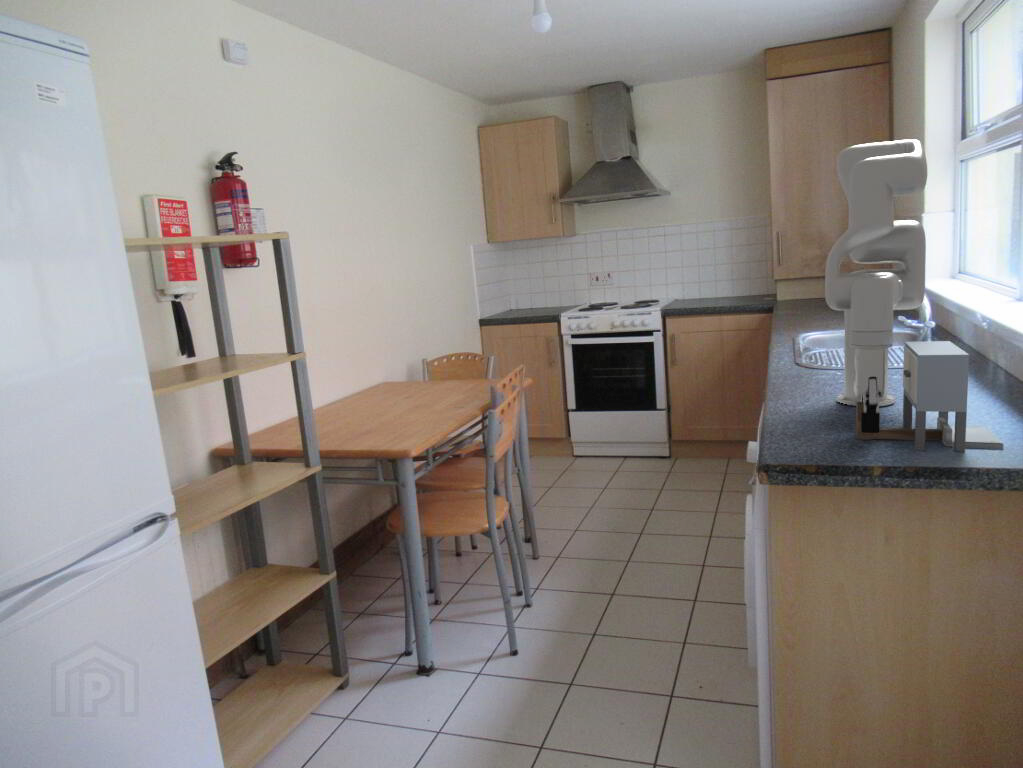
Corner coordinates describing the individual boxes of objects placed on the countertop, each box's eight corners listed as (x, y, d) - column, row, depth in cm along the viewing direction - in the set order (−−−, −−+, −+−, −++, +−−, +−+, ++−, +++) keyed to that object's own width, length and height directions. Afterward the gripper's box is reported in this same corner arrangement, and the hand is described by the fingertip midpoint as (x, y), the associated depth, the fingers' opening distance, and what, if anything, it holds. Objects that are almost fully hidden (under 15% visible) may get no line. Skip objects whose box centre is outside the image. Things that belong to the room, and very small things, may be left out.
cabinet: (897, 427, 156) (899, 341, 153) (946, 428, 153) (949, 341, 150) (909, 450, 140) (912, 355, 137) (964, 451, 137) (969, 354, 134)
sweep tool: (854, 431, 156) (855, 398, 154) (942, 433, 150) (943, 398, 149) (858, 443, 146) (858, 408, 145) (951, 446, 141) (953, 409, 139)
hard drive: (1003, 442, 137) (988, 426, 148) (952, 441, 140) (941, 425, 151) (1003, 451, 137) (987, 434, 149) (952, 450, 140) (940, 433, 152)
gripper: (847, 334, 156) (846, 420, 159) (853, 345, 141) (851, 439, 144) (887, 333, 153) (885, 421, 156) (897, 344, 138) (895, 441, 141)
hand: (869, 429), depth 150 cm, fingers closed on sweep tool, 3 cm apart
